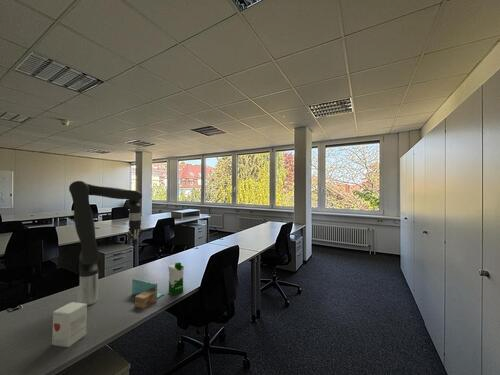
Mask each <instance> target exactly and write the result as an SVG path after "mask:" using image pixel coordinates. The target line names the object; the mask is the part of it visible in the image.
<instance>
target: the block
mask: <svg viewBox="0 0 500 375" xmlns="http://www.w3.org/2000/svg"><path fill="white" fill-rule="evenodd" d="M157 292H158V290H157V291H153V290H147V291H145V292H143V293H141V294H139V295H134V296H135V297H134V307H136V308H140V309H146V308H147V307H149V306H151V305H152V304H154V303H156V302H157V301H158V299H157Z"/></svg>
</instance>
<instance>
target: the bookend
mask: <svg viewBox="0 0 500 375" xmlns="http://www.w3.org/2000/svg"><path fill="white" fill-rule="evenodd" d="M131 285H132V286H131V295H134V296H137V295H139V294H141V293H143V292H145V291H147V290H153V291H157V300H158V299H160V298H161V297H163V296H164V295H165V293H162V292H158V283H157V282H154V281H148V280H144V279H139V278H133V279H132V284H131Z"/></svg>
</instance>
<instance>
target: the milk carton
mask: <svg viewBox="0 0 500 375" xmlns="http://www.w3.org/2000/svg"><path fill="white" fill-rule="evenodd" d="M184 269H185V265H184V264H182V263H181V262H175V263H174V264H170V265H168V273H169V274H168V293H169V294H171V295H173V296H177V295H179V294H181V293H184Z"/></svg>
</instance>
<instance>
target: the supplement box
mask: <svg viewBox="0 0 500 375" xmlns="http://www.w3.org/2000/svg"><path fill="white" fill-rule="evenodd" d="M87 311H88V305H87V304H84V303H77V302H76V301H75V302H74V301H73V302H72V301H71V302H69V303H67V304H64V306H61V307H60V308H57V309H56V310H54V311H53V312H52V340H51V342H52V343H51V345H52V346H58V347H65V348H70V347H71V346H73V345H74V344H76V343H77V342H78V341H80V339H82V338H83V337H85V336H86V335H87V320H88V319H87V318H88V317H87V314H88V312H87Z"/></svg>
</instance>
